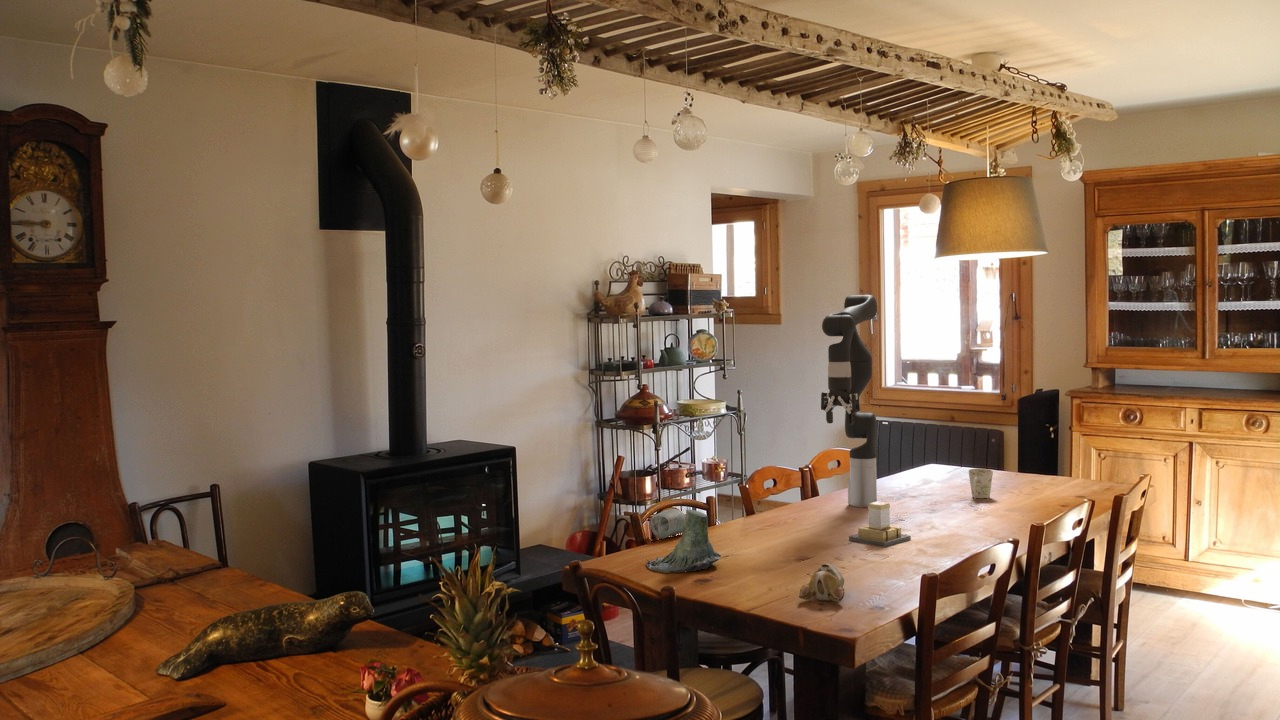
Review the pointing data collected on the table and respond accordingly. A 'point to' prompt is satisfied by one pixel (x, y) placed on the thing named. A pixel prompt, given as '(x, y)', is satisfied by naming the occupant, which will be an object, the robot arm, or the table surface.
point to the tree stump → (689, 548)
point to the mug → (980, 482)
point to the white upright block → (879, 516)
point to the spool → (667, 523)
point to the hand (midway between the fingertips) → (840, 424)
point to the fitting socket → (880, 536)
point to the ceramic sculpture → (824, 584)
